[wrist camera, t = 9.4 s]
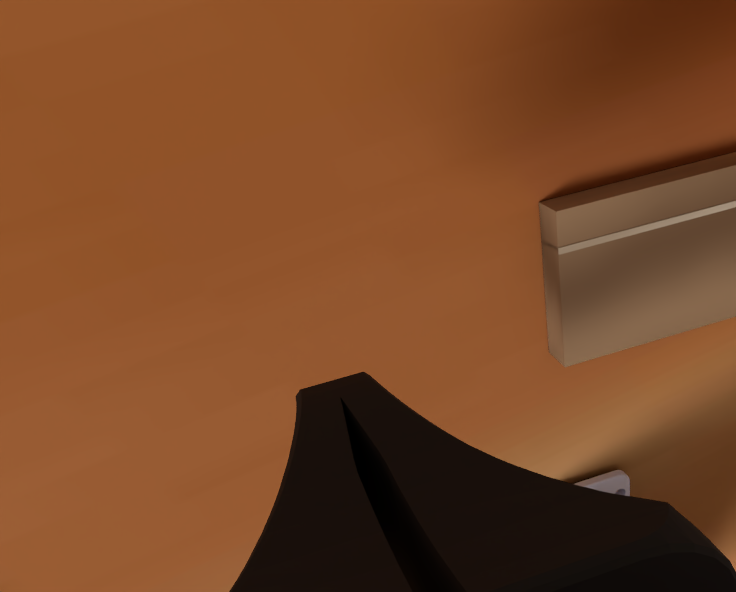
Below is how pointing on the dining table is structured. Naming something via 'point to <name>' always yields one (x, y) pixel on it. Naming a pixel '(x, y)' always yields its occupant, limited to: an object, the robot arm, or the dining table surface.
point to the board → (639, 259)
